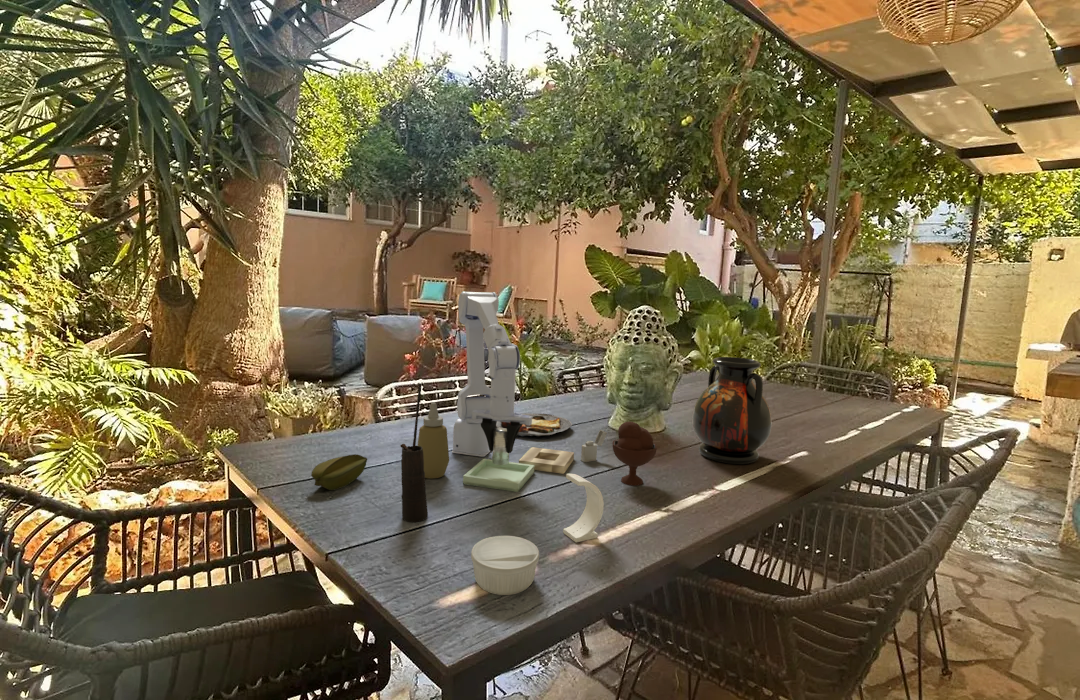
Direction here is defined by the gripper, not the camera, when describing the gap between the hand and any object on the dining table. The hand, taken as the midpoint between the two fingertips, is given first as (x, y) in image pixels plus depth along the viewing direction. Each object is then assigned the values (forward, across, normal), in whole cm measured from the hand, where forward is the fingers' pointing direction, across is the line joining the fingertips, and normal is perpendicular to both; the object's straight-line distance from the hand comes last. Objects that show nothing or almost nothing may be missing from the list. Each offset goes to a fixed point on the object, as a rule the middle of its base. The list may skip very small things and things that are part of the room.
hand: (500, 450), depth 141 cm
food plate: (+7, -5, +46) cm, 47 cm away
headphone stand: (+7, +25, -23) cm, 35 cm away
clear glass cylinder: (+3, 0, 0) cm, 3 cm away
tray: (+7, 0, 0) cm, 7 cm away
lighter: (+7, +19, +23) cm, 31 cm away
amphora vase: (+7, +55, +41) cm, 69 cm away
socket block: (+7, +8, +15) cm, 18 cm away
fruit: (+7, -33, -17) cm, 38 cm away
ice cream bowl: (+7, +31, +10) cm, 33 cm away
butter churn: (+7, -10, -27) cm, 30 cm away
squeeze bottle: (+7, -16, -4) cm, 18 cm away
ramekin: (+7, +16, -44) cm, 47 cm away
